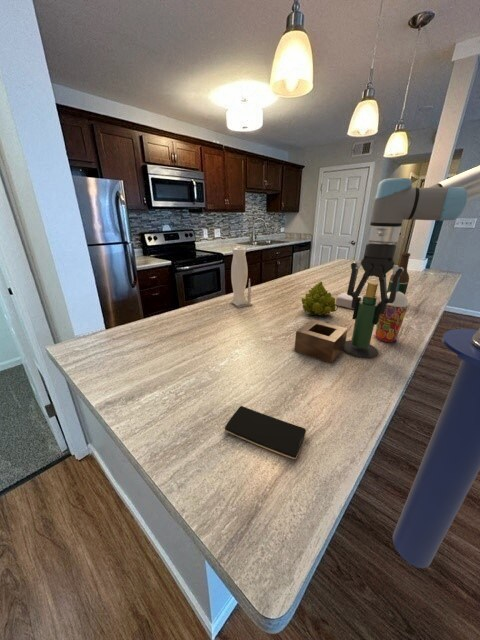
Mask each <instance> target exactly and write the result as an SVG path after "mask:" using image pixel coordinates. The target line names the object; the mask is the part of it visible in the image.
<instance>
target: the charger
mask: <svg viewBox="0 0 480 640" xmlns="http://www.w3.org/2000/svg"><path fill="white" fill-rule="evenodd" d="M363 296H364V295H363ZM363 296H362V295H359V296H358V297H360V298H361V300H363ZM352 299H353V298H352V296H350V295H347V292H342V293H340V294H339V295H337V296H336V297H335V302H336V303H335V305H336V306H338V307H342V308H347V309H351V310H354V308H352V307H351V305H352Z"/></svg>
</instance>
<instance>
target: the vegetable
mask: <svg viewBox="0 0 480 640" xmlns="http://www.w3.org/2000/svg"><path fill="white" fill-rule="evenodd" d="M301 304H302V308H303V310H304V312H306V313H308V316H309V317H310V316H314V315H317V316H321V317H325V316H327V315H328V314H331V313H333V312H334V313H335V312H336V311H337V310H338V309H339V306H338V305H336V297H333V296H332V294H331V291H330V292H328V290H327V289H326V288H325V286H324V285H323V281H319V282H318V283H316V284H315V285H314V286H313V287H310V289H308V293H305V297H301Z"/></svg>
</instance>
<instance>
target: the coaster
mask: <svg viewBox="0 0 480 640" xmlns="http://www.w3.org/2000/svg"><path fill="white" fill-rule="evenodd" d="M342 351H343V352H344V353H345V354H348V355H350V356H353V357H355V358H360V359H374V358H375V357H377V356H378V354H379V351H378V349H377V348H376V347H375V346H374V345H372V344H370V345H369V347H368V348H358V347H355V346H353V345H352V344H351V340H346V342H345V347H344V348H343V350H342Z"/></svg>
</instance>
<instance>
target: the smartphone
mask: <svg viewBox="0 0 480 640" xmlns="http://www.w3.org/2000/svg"><path fill="white" fill-rule="evenodd" d="M224 432H226V433H228V434H230V435H233V436H235V437H237V438H239V439H242V440H244V441H246V442H249V443H251V444H253V445H256V446H258V447H261V448H263V449H266V450H268V451H271V452H273V453H276V454H278V455H280V456H283V457H286V458H289V459H291V460H296V459H297V458H298V456H299V453H300V451H301V449H302V447H303V443H304V440H305V436H306V432H307V429H306V428H305V427H302V426H299V425H297V424H293V423H290V422H288V421H284V420H281V419H278V418H276V417H273V416H271V415H267V414H265V413H263V412H262V413H261V412H259V411H256V410H253V409H251V408H248V407H246V406H243V405H240V406H239V407H238V408H237V410H236V411H235V412H234V413H233V415H232V416H231V417H230V419H229V420H228V422H227V423H226V424H225V426H224Z"/></svg>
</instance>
